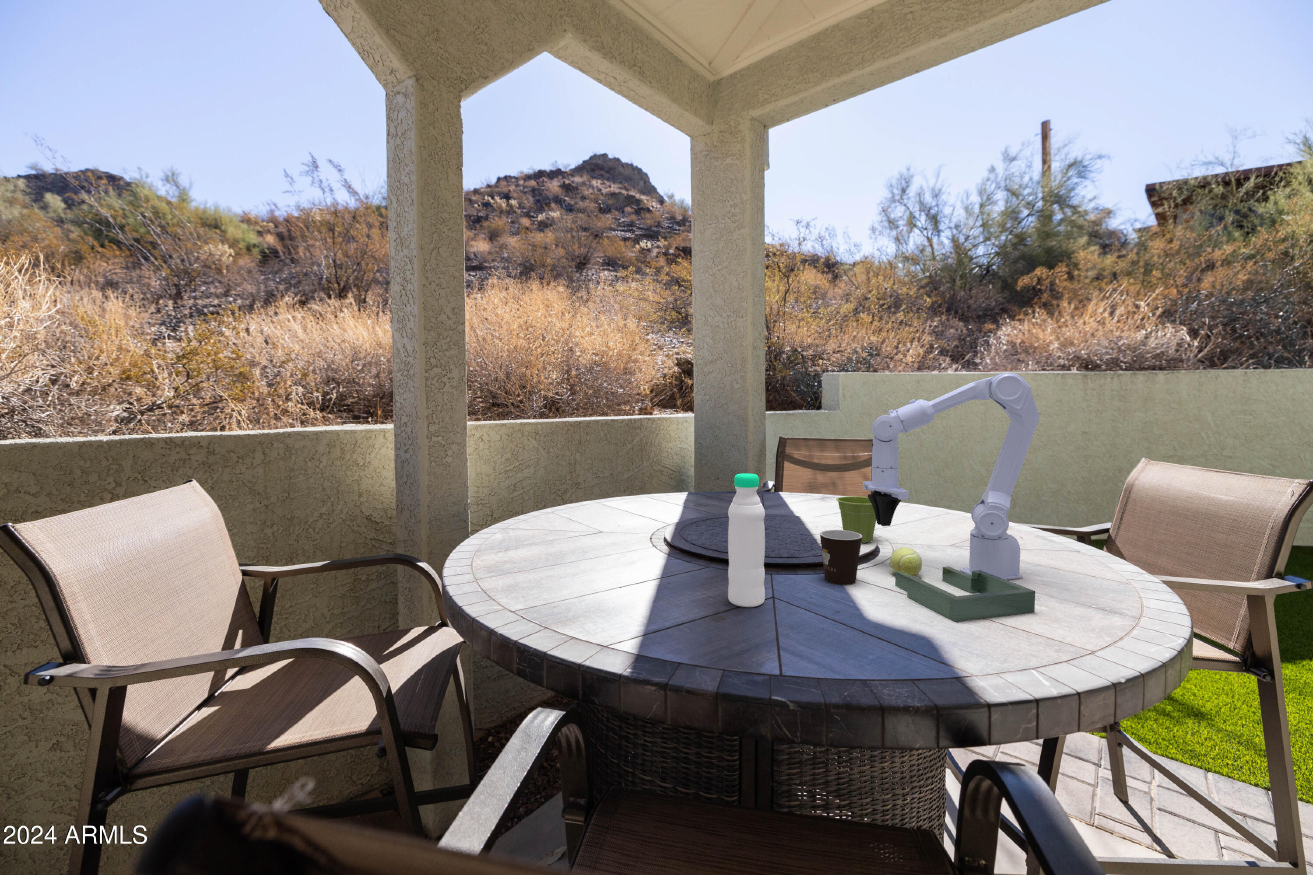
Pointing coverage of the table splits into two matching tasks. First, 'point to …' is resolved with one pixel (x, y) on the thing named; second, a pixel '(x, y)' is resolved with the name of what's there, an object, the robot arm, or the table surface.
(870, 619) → the table surface
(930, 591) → the chute bay
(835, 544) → the coffee mug
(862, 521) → the plant pot
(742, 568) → the water bottle
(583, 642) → the table surface
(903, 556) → the tennis ball
